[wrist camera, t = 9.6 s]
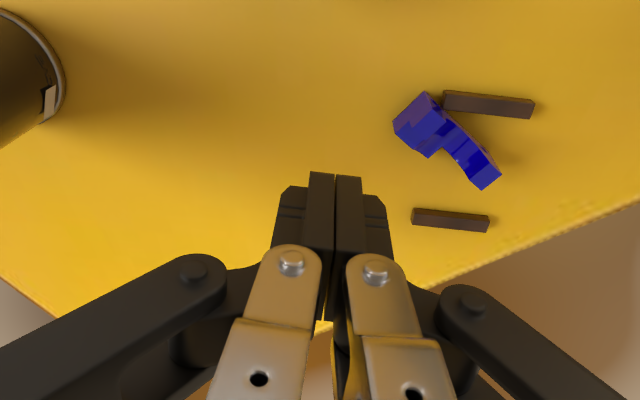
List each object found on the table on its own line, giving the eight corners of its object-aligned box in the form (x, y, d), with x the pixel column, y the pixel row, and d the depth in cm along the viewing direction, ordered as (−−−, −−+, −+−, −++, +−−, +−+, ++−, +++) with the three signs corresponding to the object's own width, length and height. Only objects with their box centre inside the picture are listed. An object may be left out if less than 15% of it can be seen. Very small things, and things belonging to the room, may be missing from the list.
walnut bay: (410, 218, 42) (411, 225, 41) (443, 89, 35) (446, 93, 34) (483, 226, 42) (486, 233, 41) (531, 99, 35) (535, 104, 34)
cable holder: (392, 121, 36) (397, 142, 33) (424, 90, 35) (432, 109, 32) (455, 177, 39) (466, 202, 36) (488, 151, 37) (502, 174, 34)
